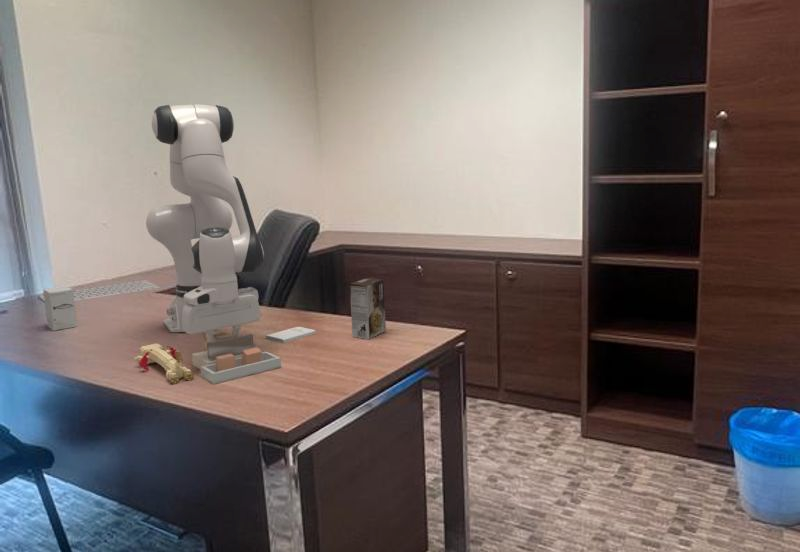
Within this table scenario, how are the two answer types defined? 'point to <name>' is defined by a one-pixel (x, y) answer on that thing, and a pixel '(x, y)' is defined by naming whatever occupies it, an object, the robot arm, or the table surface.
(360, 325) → the coffee box
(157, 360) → the beige long curved piece
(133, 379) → the table surface
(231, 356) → the tile
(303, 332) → the external hard drive
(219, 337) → the scraper
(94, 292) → the computer keyboard
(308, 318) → the table surface
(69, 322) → the supplement box
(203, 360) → the board
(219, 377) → the tray
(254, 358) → the tile
